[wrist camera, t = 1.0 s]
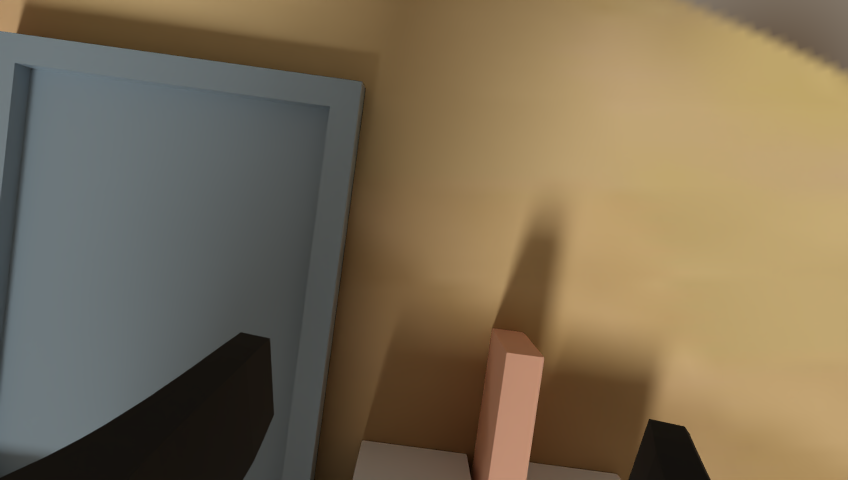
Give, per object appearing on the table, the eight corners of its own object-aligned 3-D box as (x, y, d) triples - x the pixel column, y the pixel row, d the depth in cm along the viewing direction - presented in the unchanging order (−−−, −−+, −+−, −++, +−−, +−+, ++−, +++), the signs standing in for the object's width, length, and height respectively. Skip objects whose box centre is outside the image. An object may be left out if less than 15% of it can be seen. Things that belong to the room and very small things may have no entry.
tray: (306, 534, 27) (300, 553, 25) (-34, 490, 26) (-61, 507, 25) (365, 89, 26) (362, 81, 24) (14, 39, 26) (-12, 29, 24)
